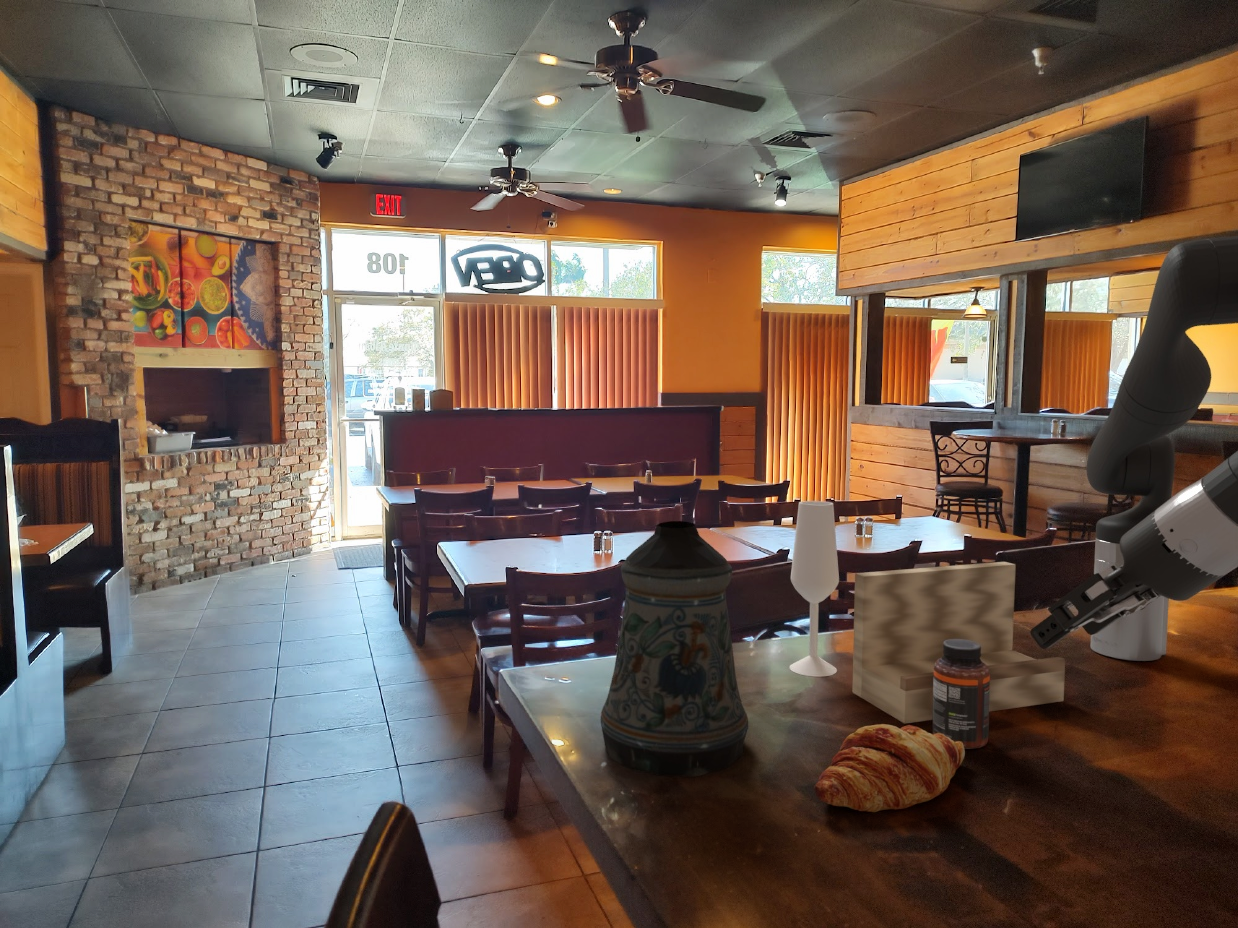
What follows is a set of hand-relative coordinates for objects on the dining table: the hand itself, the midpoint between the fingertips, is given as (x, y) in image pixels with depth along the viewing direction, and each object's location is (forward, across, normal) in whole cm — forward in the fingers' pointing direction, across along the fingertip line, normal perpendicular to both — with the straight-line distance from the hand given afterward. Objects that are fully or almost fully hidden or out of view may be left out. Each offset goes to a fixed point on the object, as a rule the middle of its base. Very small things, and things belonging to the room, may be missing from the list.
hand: (1061, 633), depth 85 cm
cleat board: (+25, -12, -3) cm, 28 cm away
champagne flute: (+38, -4, -16) cm, 41 cm away
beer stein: (+32, +28, -10) cm, 43 cm away
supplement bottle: (+19, 0, +3) cm, 19 cm away
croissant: (+16, +16, +6) cm, 23 cm away
